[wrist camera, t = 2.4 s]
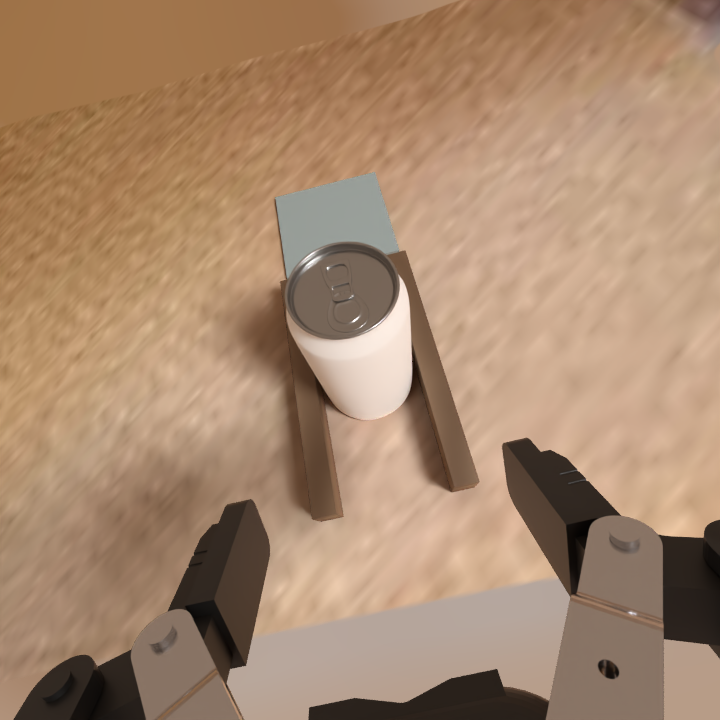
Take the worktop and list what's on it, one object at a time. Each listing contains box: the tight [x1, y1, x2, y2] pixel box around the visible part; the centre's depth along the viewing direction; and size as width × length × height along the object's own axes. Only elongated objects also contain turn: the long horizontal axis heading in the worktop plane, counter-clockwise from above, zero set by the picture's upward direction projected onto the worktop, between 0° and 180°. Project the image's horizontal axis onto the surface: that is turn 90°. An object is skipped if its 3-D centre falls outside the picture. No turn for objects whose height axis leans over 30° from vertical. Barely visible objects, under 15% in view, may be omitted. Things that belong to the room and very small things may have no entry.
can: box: [285, 242, 412, 420], centre depth 24 cm, size 6×6×12 cm
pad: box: [275, 172, 399, 279], centre depth 37 cm, size 10×10×1 cm
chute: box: [280, 251, 479, 522], centre depth 29 cm, size 10×18×2 cm, turn 11°
